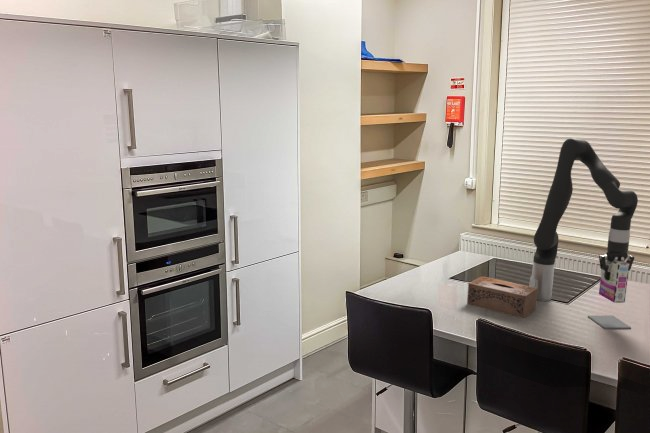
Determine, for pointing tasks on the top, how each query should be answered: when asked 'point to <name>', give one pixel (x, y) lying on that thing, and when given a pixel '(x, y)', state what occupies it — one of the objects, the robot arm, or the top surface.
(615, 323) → the coaster
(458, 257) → the top surface
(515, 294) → the tissue box cover
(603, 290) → the candy bar box
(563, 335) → the top surface
